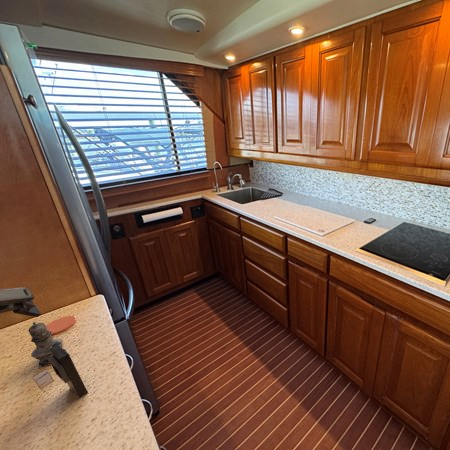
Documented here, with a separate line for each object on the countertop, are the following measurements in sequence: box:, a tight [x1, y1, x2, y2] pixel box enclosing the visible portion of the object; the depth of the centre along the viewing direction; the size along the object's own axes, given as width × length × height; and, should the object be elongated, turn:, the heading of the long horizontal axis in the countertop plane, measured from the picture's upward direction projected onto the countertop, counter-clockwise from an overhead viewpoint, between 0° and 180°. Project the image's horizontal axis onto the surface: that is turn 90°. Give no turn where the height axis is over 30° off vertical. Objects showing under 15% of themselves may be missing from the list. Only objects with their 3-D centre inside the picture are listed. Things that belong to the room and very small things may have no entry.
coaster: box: [45, 315, 78, 336], centre depth 73 cm, size 8×8×1 cm
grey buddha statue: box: [27, 321, 67, 368], centre depth 61 cm, size 6×6×12 cm
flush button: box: [32, 369, 55, 391], centre depth 49 cm, size 2×3×3 cm, turn 62°
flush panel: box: [48, 345, 89, 399], centre depth 52 cm, size 2×5×12 cm, turn 62°
